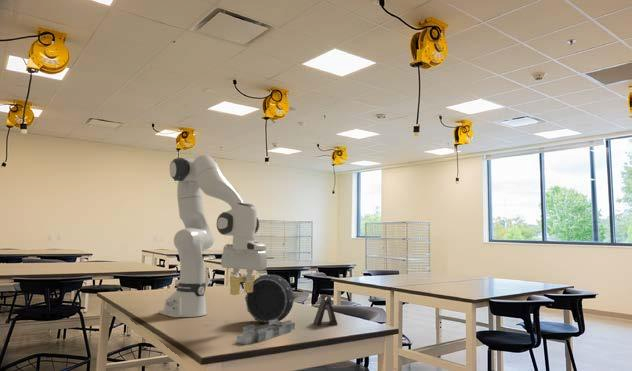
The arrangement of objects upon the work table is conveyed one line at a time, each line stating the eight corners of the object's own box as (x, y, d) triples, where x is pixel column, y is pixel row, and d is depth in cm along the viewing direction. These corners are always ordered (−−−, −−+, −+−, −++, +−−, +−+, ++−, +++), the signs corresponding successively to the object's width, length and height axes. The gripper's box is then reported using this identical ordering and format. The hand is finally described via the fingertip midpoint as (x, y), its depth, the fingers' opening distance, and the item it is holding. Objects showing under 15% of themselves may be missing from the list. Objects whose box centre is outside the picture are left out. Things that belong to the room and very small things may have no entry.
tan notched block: (235, 295, 156) (236, 277, 157) (229, 294, 158) (229, 276, 159) (254, 292, 166) (254, 275, 167) (248, 291, 167) (248, 274, 168)
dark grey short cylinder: (288, 327, 171) (290, 276, 173) (241, 323, 175) (244, 274, 177) (295, 322, 181) (296, 274, 183) (250, 319, 185) (252, 272, 188)
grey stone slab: (249, 345, 141) (249, 332, 142) (233, 342, 145) (233, 329, 145) (297, 329, 167) (298, 318, 168) (283, 327, 171) (283, 316, 171)
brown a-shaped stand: (316, 325, 175) (317, 296, 176) (313, 322, 181) (314, 294, 182) (337, 325, 177) (338, 295, 178) (333, 322, 183) (334, 293, 184)
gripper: (218, 243, 167) (216, 279, 165) (259, 245, 156) (257, 283, 155) (229, 243, 172) (227, 278, 170) (269, 245, 162) (268, 282, 160)
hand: (242, 281), depth 162 cm, fingers closed on tan notched block, 3 cm apart
